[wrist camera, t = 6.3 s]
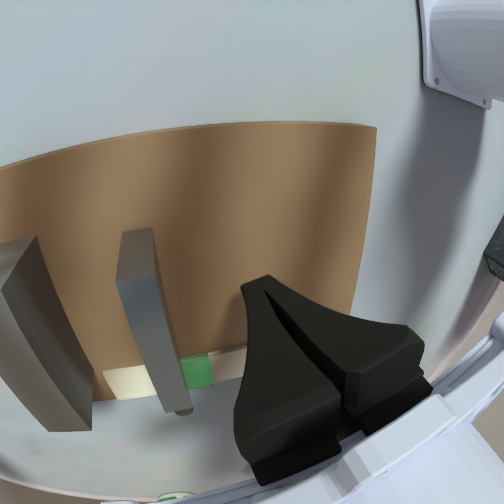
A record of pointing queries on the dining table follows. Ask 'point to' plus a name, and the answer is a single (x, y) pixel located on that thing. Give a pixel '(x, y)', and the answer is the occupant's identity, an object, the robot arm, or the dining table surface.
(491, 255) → the small box
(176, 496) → the supplement bottle
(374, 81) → the dining table surface
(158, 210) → the board
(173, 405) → the pad
